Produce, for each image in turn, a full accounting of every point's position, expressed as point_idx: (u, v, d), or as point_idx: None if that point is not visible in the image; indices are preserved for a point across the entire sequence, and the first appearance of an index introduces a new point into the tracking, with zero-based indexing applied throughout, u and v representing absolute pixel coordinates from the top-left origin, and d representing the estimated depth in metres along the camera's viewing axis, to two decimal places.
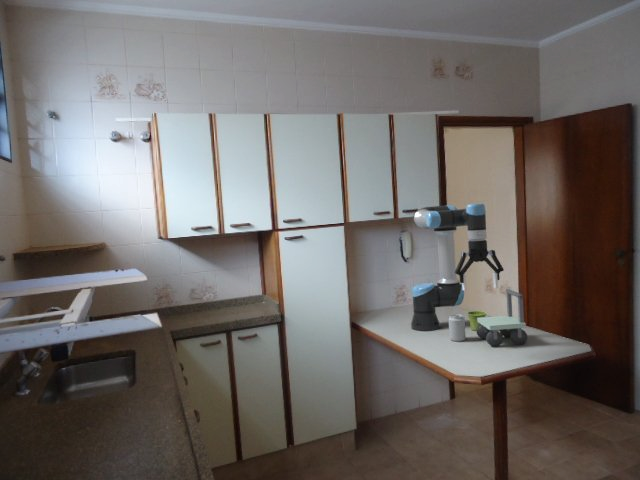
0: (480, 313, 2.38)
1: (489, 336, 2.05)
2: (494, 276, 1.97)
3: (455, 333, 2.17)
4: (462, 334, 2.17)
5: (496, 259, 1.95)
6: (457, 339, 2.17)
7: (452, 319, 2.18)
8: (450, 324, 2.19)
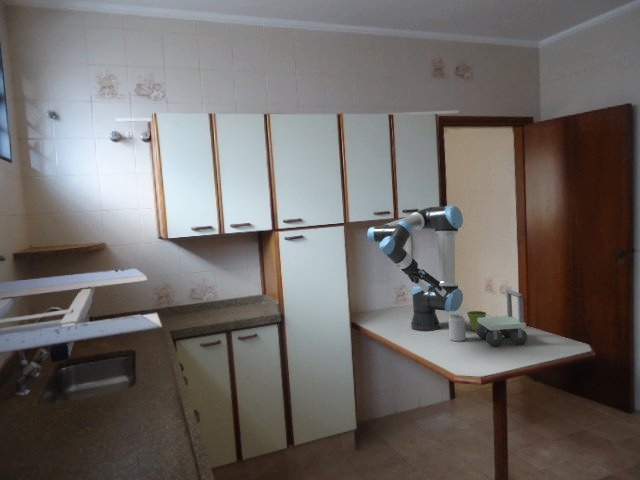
0: (480, 313, 2.38)
1: (489, 336, 2.05)
2: None
3: (455, 333, 2.17)
4: (462, 334, 2.17)
5: (426, 279, 2.05)
6: (457, 339, 2.17)
7: (452, 319, 2.18)
8: (450, 324, 2.19)
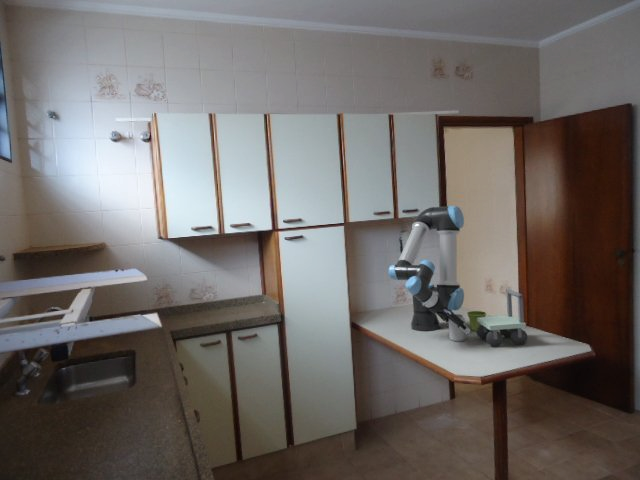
0: (480, 313, 2.38)
1: (489, 336, 2.05)
2: None
3: (455, 333, 2.17)
4: (462, 333, 2.17)
5: (452, 319, 2.12)
6: (457, 339, 2.17)
7: None
8: (450, 324, 2.19)
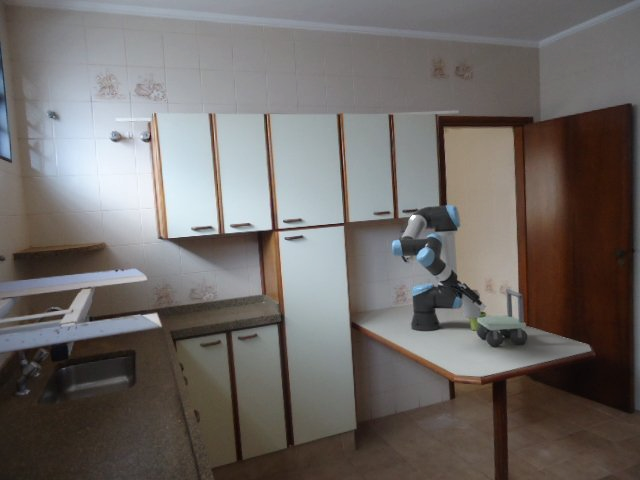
0: None
1: (489, 336, 2.05)
2: None
3: (470, 309, 2.02)
4: (477, 310, 2.02)
5: (466, 293, 1.97)
6: (472, 316, 2.02)
7: None
8: (464, 300, 2.04)
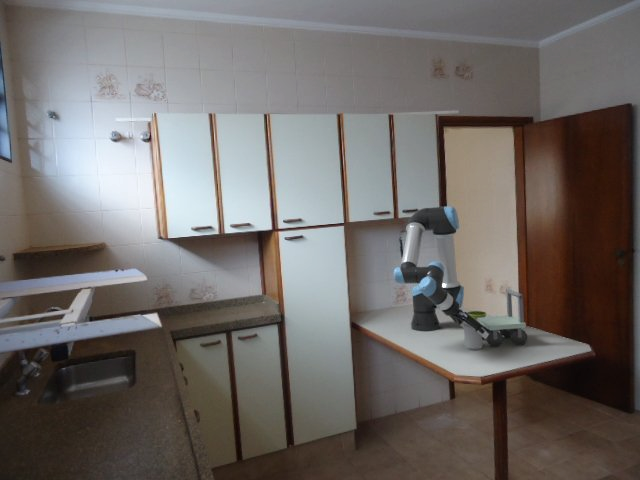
0: (480, 313, 2.38)
1: (489, 336, 2.05)
2: None
3: (471, 341, 2.03)
4: (479, 341, 2.03)
5: (468, 322, 1.97)
6: (473, 347, 2.03)
7: (468, 326, 2.04)
8: (466, 331, 2.05)
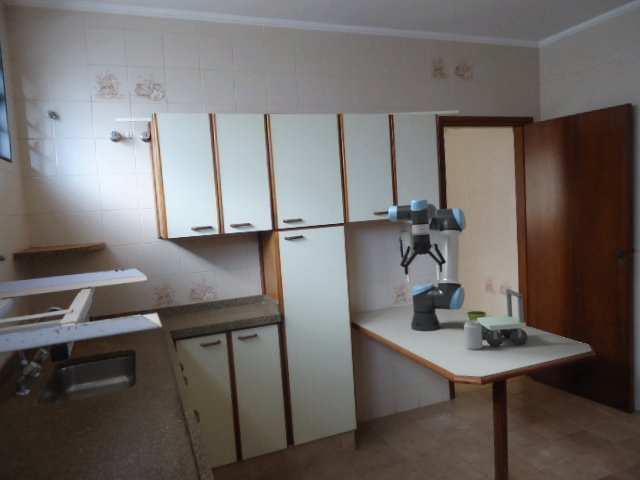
0: (480, 313, 2.38)
1: (489, 336, 2.05)
2: (437, 268, 2.08)
3: (471, 341, 2.03)
4: (479, 341, 2.03)
5: (439, 252, 2.06)
6: (473, 347, 2.03)
7: (468, 326, 2.04)
8: (466, 331, 2.05)
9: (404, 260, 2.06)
